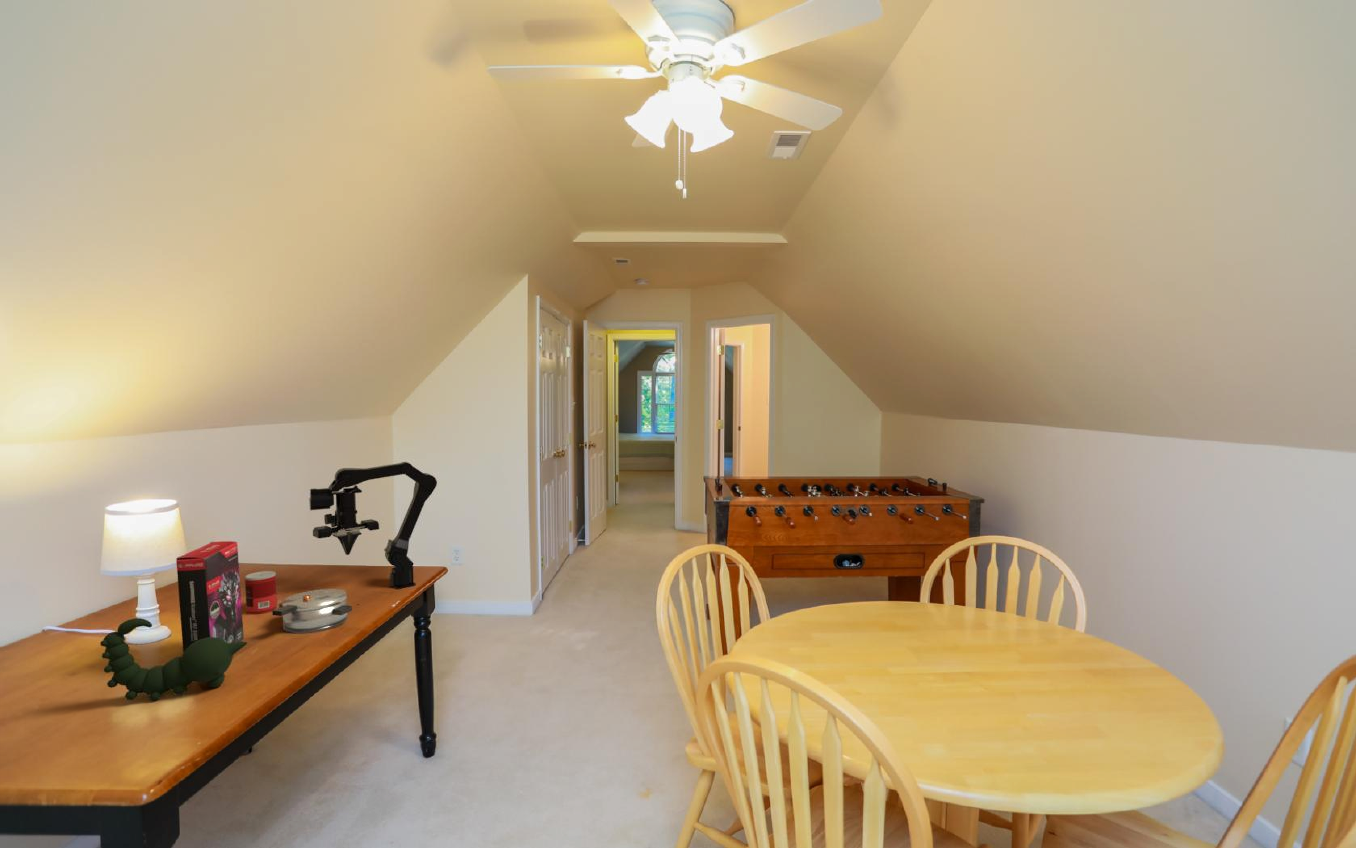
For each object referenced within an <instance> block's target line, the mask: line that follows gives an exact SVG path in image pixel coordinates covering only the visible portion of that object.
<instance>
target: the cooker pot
mask: <svg viewBox="0 0 1356 848" xmlns="http://www.w3.org/2000/svg"><path fill="white" fill-rule="evenodd" d="M281 607H283V606H282V602H281V603H279V604H278V608H281ZM352 611H353V606H352V605H348V602H347V598H346V600H345V601H343V602H341V603H339V604H337V605H334V606H331V607H327V608H323V609H317V610H310V611H293V612H291V613H288V614H286V615H283V616H282V629H283V631H284V632H286V633H289V634H311V633H318V632H319V633H320V632H322V631H327V629H328V630H331V629H334V628H336V626H337V627H339V626H341V625H343V624H345V623H346V622H347V621H348V617H349V616H348V613H350V612H352ZM346 620H347V621H346ZM345 621H346V622H345ZM344 622H345V623H344ZM340 624H341V625H340ZM338 625H339V626H338ZM330 628H331V629H330Z"/></svg>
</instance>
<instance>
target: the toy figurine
mask: <svg viewBox="0 0 1356 848" xmlns="http://www.w3.org/2000/svg"><path fill="white" fill-rule="evenodd" d="M139 627H140V628H141V627H146V628H152V627H153V624H152V622H150V621H149V620H148V619H145V618H141V617H139V618H138V617H137V618H131V619H130V618H129V619H127V620H126V621H123V622H122V623H120V624H119V625H118V628H117V631H112V632H109V633H108V634H106V635H105V636H104V638H103V639H102V640H101V642H100V644H99V645H100V646H101V647H104V648H105V650H104V652H103V653H102V654H101V657H102V659H107V660H108V662H107V665H106V666H105V667H104V668H103V671H104V673H111V672H112V673H113V674H112V677H111V679H109V680H108V681H107V682H106V686H107V687H109V689H113V688H115V687H117V685H120V686H125V688H126V690H127V692H125V695H124V696H125V697H124V699H126V700H127V701H133V700H134V699H136V698H137V697H138V695H139V694H145V695H147V696H148V698H149V700H150V701H153V702H156V701H158V700H160V698H161V697H162V695H164V694H166V693H168V692H169V691H170V690H172V694H174V695H175V696H182V695H183V694H185V693H186V692H187V691H188V686H190V685H191V684H192V683H194V682H195V683H207V685H208V686H209V687H210V688H217V687H219V686H221V685H222V684H224V682H225V677H226V675H225V673H226V672H227V670H228V669H229V668H230V666H231V665H232V663H233V662H232V661H233V659H234V658H233V657H234V655H235V654H236V653H238V652H239V651H240V650H242V649H243V648H244V647H246V645H247V644H248V642H247V641H241V642H236V643H227V642H226V641H224V640H222V639H220V638H215V637H208V638H203V639H200V640H198V641H196V642H194V643H193V644H191V645H190V646H189V647H188V648H187V649H186V650H185V651H184V653H183V652H182V655H181V656H176V657H174V658H172V659H169V661H167V662H166V663H165V664H164V665H156V666H153V667H151V668H146V667H143V668H142V667H141V665H139V663H136V662H135V657H134V656H133V654H132V653H130V652H129V651H130V646H129V644H128V643H127V642H125V640H126V638H125V636H126V635H128V634H130V633H131V632H132V631H134V629H137V628H139Z"/></svg>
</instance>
